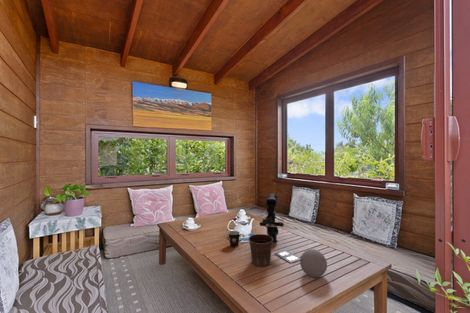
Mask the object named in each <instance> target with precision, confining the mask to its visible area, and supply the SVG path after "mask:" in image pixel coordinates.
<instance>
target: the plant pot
mask: <svg viewBox="0 0 470 313" xmlns="http://www.w3.org/2000/svg"><path fill="white" fill-rule="evenodd" d="M248 241H249V242H248V243H249V246H250V256H251V263H252V265H254V266H255V267H260V268H263V267H268V266H270V265H271V256H272V246H273V243H272V241H273V238H272V237H271V236H269V235H268V234H263V233H262V234H260V233H257V234H252V235H250V236H249V237H248Z"/></svg>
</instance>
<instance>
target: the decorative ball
mask: <svg viewBox="0 0 470 313" xmlns="http://www.w3.org/2000/svg"><path fill="white" fill-rule="evenodd" d="M299 258H300V261H299V264H300V268H301V269H302V271H303V273H305V275H307V276H308V277H312V278H320V277H322V276H323V275H324V274H325V273H326V272H327V268H328V263H327V259H326V257H325V255H324V254H323V253H322V252H321V251H320V250H317V249H315V248H314V249H312V248H311V249H307V250H305V251H304V252H303V253H302V254H301V255H300V257H299Z"/></svg>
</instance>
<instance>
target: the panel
mask: <svg viewBox="0 0 470 313" xmlns="http://www.w3.org/2000/svg"><path fill="white" fill-rule="evenodd" d="M274 255H275V256H277V257H279V258H280V259H282V260H284V261H285V262H287V263H289V264H293V263H296V262H300V258H301V257H299V256H297V255H295V254H293V253H291V252H289V251H288V250H286V249H285V250H282V251H279V252H274Z"/></svg>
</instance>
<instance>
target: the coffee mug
mask: <svg viewBox="0 0 470 313" xmlns="http://www.w3.org/2000/svg"><path fill="white" fill-rule="evenodd" d="M228 236H229V237H228V238H229V246H230V247H231V248H237V247H239V243H240V242H241V241H242V240H245V235H244V234H241V233H240V231H238V230H230V231H229V232H228ZM240 236H242V237H243V238H241V239H240Z"/></svg>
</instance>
